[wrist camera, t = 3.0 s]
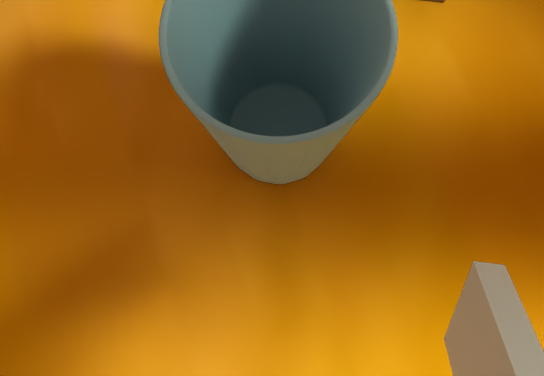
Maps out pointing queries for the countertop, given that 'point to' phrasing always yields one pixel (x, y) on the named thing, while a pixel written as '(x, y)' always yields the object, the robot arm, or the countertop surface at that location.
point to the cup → (278, 74)
